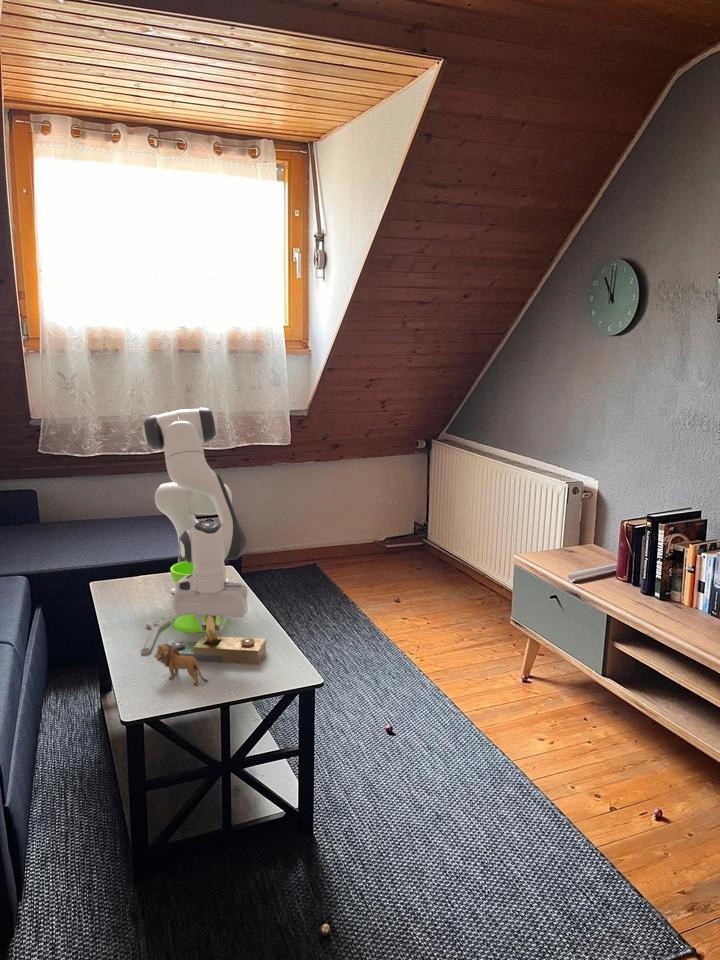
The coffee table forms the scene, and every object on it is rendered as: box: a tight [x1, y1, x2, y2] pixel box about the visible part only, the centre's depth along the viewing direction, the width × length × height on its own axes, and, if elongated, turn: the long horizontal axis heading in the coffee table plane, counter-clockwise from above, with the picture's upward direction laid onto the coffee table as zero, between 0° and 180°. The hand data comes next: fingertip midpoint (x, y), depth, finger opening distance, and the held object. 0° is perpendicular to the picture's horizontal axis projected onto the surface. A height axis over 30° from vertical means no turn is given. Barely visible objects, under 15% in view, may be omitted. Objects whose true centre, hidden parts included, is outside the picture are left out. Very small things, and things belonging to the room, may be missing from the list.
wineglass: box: [170, 561, 227, 633], centre depth 229 cm, size 16×16×18 cm
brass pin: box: [205, 616, 218, 646], centre depth 205 cm, size 3×3×10 cm
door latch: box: [166, 635, 267, 666], centre depth 207 cm, size 8×28×5 cm, turn 82°
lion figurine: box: [154, 643, 209, 687], centre depth 192 cm, size 15×5×9 cm, turn 72°
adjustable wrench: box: [140, 616, 171, 655], centre depth 220 cm, size 25×6×2 cm, turn 0°
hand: (211, 629), depth 206 cm, fingers closed on brass pin, 3 cm apart
